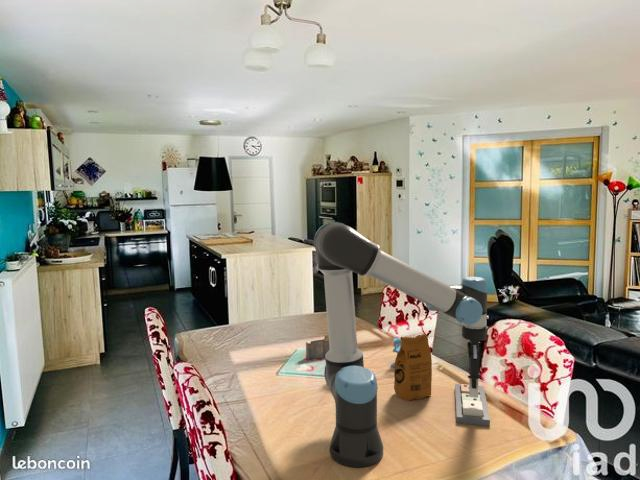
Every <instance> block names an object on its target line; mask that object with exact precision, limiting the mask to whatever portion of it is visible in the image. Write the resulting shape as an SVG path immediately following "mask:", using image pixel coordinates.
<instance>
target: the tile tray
mask: <svg viewBox="0 0 640 480" xmlns="http://www.w3.org/2000/svg"><path fill="white" fill-rule="evenodd" d="M461 384H462V383H461ZM461 384H460V383H455V384H454V395H455V413H456V415H455V416H456V417H455V418H456V419H455V420H456V423H458V424H464V423H466V425H474V424H476V425H477V426H483V425H485V426H484V427H490V426H491V423H490V422H491V419H490V418H491V417H490V413H489V408H488V403H487V398H486V392H485V387H484V386H483V385H478V387H479V395H480V399H481V402H482V407H483V417H479V416H469V415H463V408H462V394H461ZM476 425H475V426H476Z"/></svg>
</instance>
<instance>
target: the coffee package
mask: <svg viewBox="0 0 640 480" xmlns="http://www.w3.org/2000/svg"><path fill="white" fill-rule="evenodd" d="M400 339H401V340H402V341H401V342H402V344H400V346H401V347H400V350H399V352H398V354H397V353H396V357H395V360H394V363H395V365H394V366H395V368H394V371H393V372H394V374H393V375H394V376H393V377H394V379H393V380H394V381H393V383H394V384H393V389H394V392H395V394H396V395H397V396H398V397H399V398H400V399H402V400H403V401H405V402H409V401H413V400H416V399H417V400H422V399H425V398H427V397H429V396H431V395H432V381H433V378H432V375H433V373H432V372H433V368H432V367H433V366H432V365H433V364H432V352H431V347H430V343H429V339H428V335H427V333H425V332H424V333H422V334H420V335H418V336H415V337H411V336H409V337H408V336H401V337H400Z"/></svg>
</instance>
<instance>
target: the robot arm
mask: <svg viewBox="0 0 640 480" xmlns="http://www.w3.org/2000/svg"><path fill="white" fill-rule="evenodd" d="M313 246H314V249H315V252H316V257H317V258H316V259H317V269H318V270H319V271H320V272H321V273H322V274H323V280H324V281H323V282H324V283H323V284H324V293H325V294H324V296H325V306H326V308H325V310H326V321H327V333H328V334H327V335H329V348H330V350H329V351H328V352H327V353H326V355H325V357H324V359H325V364H324V370H323V373H324V374H323V375H324V380H325V383H326V385H327V386H328V387H329V390H330V393H331V395H332V397H333V400H334V402H335V403H334V404H335V427H334V430H333V434H332V437H331V440H330V443H329V454H330V457H331V458H332V459H333V460H334V461H335V462H337V463H338V464H340V465H343V466H346V467H352V468H365V467H370V466H373V465H376V464H377V463H379V462H380V461H381V460H382V458H383V456H384V444H383V441H382V438H381V435H380V432H379V428H378V383H377V381H378V380H377V376H376V375H375V373H374V371H372V370H371V369H369V368H365V365H364V364H365V363H364V353H363V351H362V350H361V349H360V348H359V347H358V339H357V336H358V335H357V325H356V312H355V311H356V307H355V296H354V295H355V294H354V281H353V279H354V278H353V273H355V274H357V275H359V276H361V277H364V276H369V277H371V278H374V279H376V280H378V281H380V282H381V283H384V284H386V285H388V286H390V287H392V288H393V289H396V290H397V291H400V292H402V293H403V294H406V295H408V296H410V297H411V298H413V299H415V300H418V301H419V302H422V303H424V304H425V306H426V309H428V310H429V311H430V312H431V311H432V312H441V313H443V314H444V315H447V316H449V317H451V318H453V319H455V320H456V321H458V322H459V323H461V325H462V326H461V336H462V338H463V339H465V340H468V341H467V350H468V351H467V352H468V358H469V359H468V361H469V363H468V365H469V366H468V367H469V368H468V371H469V375H467V379H468V381H469V382H468V385H469V397H476V398H478V386H479V379H480V376H481V374H480V358H481V350H482V344H481V342H480V341H484V340H486V339H487V335H488V332H487V330H488V329H487V320H489V319H490V318H489V315H487V314H488V292H489V291H488V283H487V280H486V279H485V278H483V277H480V276H467V277H466V276H465V277H463V278H462V281H461V284H455V285H454V284H453V285H452V284H451V285H449V284H446V283H444V282H442V281H440V280H439V279H437V278H435V277H433V276H431V275H429V274H427V273H425V272H423V271H421V270H419V269H418V268H415V267H413V266H411V265H410V264H407V263H406V262H404V261H402V260H400V259H398V258H396V257H394V256H392V255H390V254H388V253H386V252H385V251H383V250H381V248H380V245H379V244H377V243H375V242H373V241H371V240H370V239H368V238H367V237H365V236H364V235H362V234H361V233H360V232H358V231H357V230H356V229H354V228H353V227H351V226H349V225H346V224H345V223H342V222H338V221H332V222H331V221H330V222H328V223H324V224H323V225H321V226H320V227H319V228H318V229H317V231H316V232H315V234H314V237H313Z"/></svg>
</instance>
